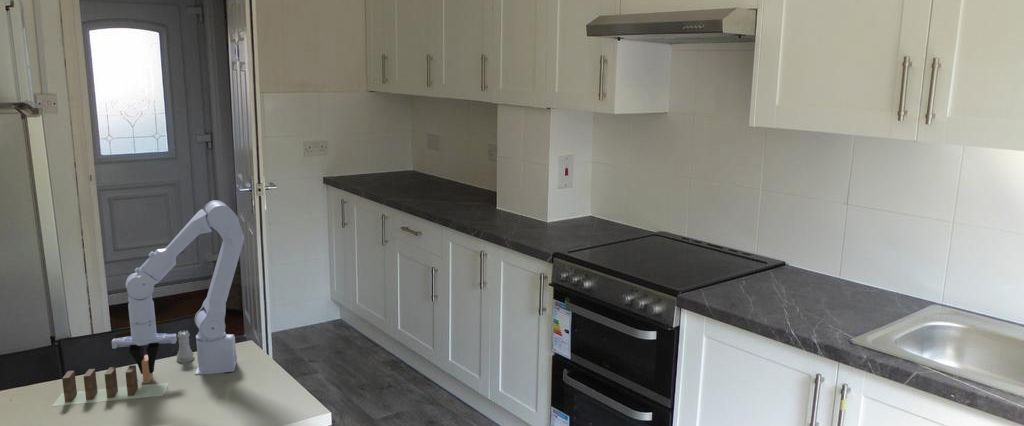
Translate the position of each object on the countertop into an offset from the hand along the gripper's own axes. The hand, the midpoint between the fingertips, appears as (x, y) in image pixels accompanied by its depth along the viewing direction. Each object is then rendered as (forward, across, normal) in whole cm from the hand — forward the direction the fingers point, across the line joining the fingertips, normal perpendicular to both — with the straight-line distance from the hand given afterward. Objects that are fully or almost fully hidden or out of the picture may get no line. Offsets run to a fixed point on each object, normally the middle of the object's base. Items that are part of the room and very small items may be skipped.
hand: (147, 372), depth 191 cm
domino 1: (+2, -16, -8) cm, 17 cm away
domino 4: (+2, -2, -8) cm, 8 cm away
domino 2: (+2, -11, -8) cm, 13 cm away
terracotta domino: (+2, 0, 0) cm, 2 cm away
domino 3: (+2, -6, -8) cm, 10 cm away
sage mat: (+2, -6, -8) cm, 10 cm away
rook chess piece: (+2, +7, +12) cm, 14 cm away
